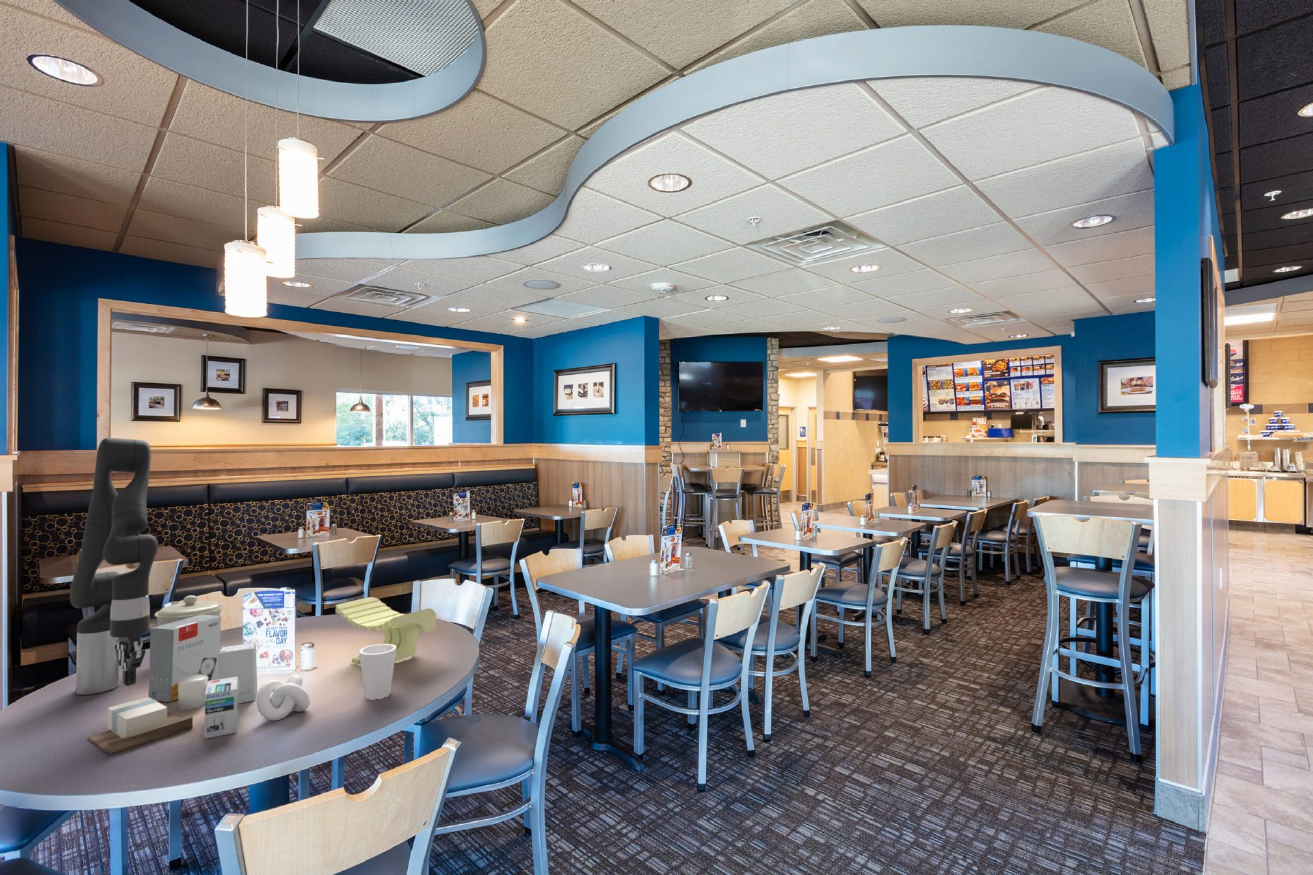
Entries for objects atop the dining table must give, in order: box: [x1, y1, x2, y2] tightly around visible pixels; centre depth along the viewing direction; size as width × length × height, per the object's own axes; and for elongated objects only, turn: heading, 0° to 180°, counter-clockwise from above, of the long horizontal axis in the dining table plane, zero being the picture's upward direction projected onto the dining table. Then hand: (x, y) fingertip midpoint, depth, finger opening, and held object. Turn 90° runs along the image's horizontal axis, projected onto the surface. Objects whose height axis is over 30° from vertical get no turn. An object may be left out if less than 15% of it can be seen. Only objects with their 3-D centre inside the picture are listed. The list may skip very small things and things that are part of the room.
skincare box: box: [218, 641, 258, 704], centre depth 170 cm, size 8×6×15 cm
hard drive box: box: [147, 615, 222, 703], centre depth 177 cm, size 16×8×20 cm, turn 168°
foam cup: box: [358, 643, 396, 701], centre depth 174 cm, size 10×9×13 cm
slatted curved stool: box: [335, 596, 437, 666], centre depth 203 cm, size 30×16×18 cm, turn 59°
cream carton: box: [107, 696, 168, 738], centre depth 152 cm, size 5×8×12 cm
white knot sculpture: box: [256, 674, 311, 722], centre depth 162 cm, size 11×12×9 cm
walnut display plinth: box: [88, 712, 194, 755], centre depth 150 cm, size 14×16×3 cm
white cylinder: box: [177, 675, 208, 711], centre depth 167 cm, size 6×6×7 cm
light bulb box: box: [204, 677, 240, 740], centre depth 153 cm, size 11×7×11 cm, turn 33°
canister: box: [154, 595, 224, 626], centre depth 203 cm, size 18×18×21 cm
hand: (129, 684), depth 155 cm, fingers closed
